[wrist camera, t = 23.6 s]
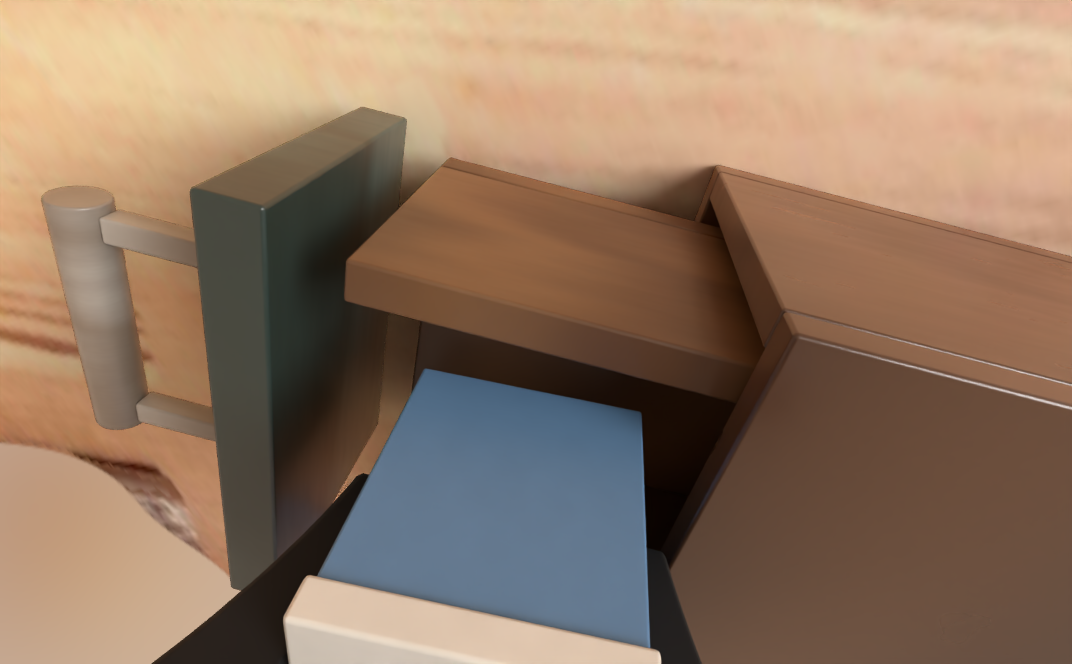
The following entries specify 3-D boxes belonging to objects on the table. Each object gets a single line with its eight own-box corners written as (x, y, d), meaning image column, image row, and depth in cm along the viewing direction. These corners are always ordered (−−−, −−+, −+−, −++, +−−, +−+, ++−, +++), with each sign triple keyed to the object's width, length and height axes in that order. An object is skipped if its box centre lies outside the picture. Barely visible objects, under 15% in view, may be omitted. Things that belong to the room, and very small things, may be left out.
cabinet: (595, 475, 21) (577, 733, 14) (716, 163, 15) (795, 334, 8) (960, 571, 21) (1133, 879, 14) (1230, 297, 15) (1788, 593, 8)
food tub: (408, 546, 13) (307, 813, 9) (419, 360, 11) (279, 619, 6) (591, 586, 13) (574, 875, 9) (649, 407, 10) (665, 704, 6)
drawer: (207, 378, 20) (38, 538, 14) (173, 56, 14) (-123, 106, 9) (699, 507, 20) (726, 719, 14) (848, 232, 14) (990, 397, 9)
